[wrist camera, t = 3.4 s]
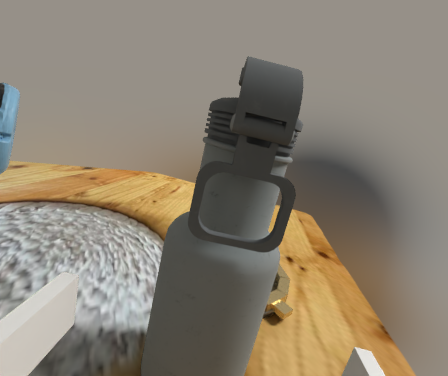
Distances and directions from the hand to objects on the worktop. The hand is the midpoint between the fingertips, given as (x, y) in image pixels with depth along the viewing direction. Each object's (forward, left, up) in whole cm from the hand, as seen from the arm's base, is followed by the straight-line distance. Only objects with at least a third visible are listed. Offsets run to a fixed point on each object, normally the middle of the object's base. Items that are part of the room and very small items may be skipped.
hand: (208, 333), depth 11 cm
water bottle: (-7, +7, -14) cm, 17 cm away
